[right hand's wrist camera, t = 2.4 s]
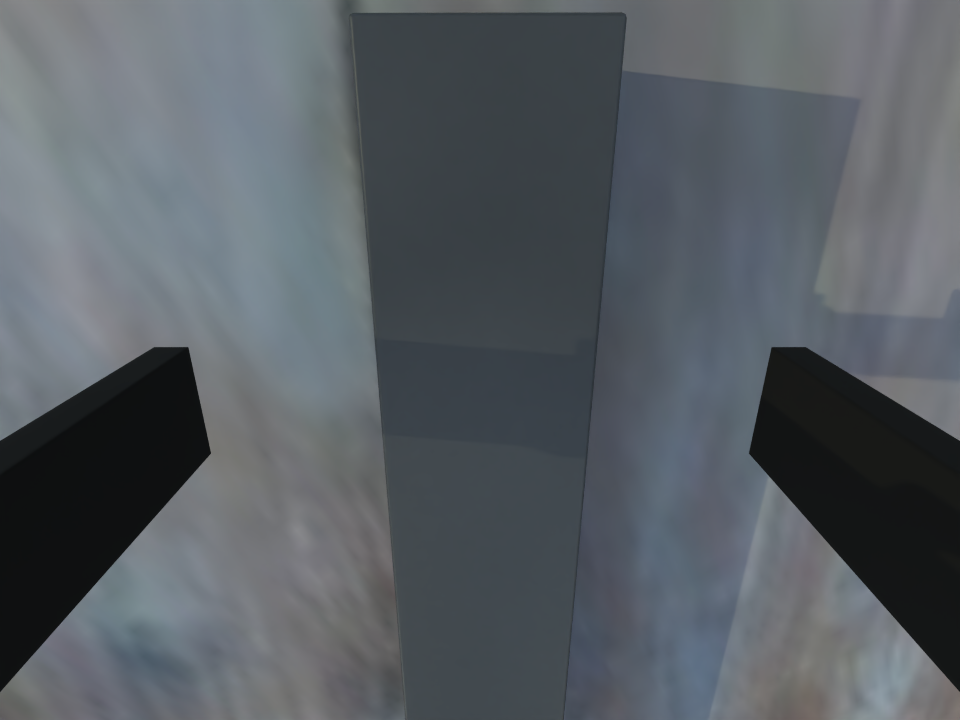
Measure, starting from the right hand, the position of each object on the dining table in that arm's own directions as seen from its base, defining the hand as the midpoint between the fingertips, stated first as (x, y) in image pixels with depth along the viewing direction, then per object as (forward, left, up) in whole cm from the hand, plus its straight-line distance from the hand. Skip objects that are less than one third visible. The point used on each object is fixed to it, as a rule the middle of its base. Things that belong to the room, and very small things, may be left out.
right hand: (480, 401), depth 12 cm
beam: (+14, +24, -10) cm, 29 cm away
